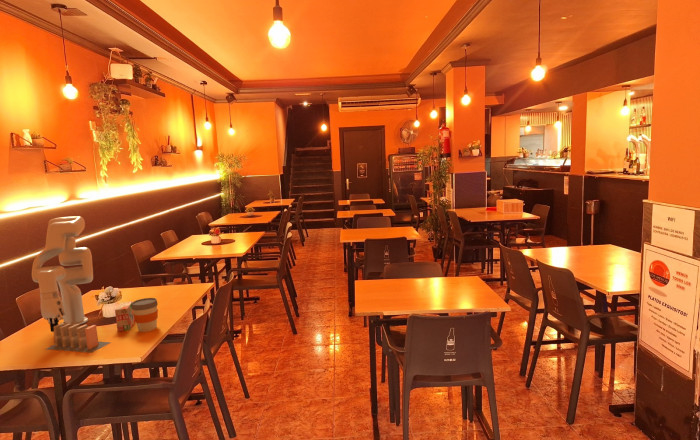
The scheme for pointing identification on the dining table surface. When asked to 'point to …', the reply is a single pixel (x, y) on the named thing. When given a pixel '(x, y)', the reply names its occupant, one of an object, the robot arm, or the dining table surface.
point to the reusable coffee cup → (145, 314)
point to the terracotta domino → (91, 336)
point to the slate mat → (77, 349)
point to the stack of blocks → (124, 316)
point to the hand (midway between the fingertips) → (55, 330)
